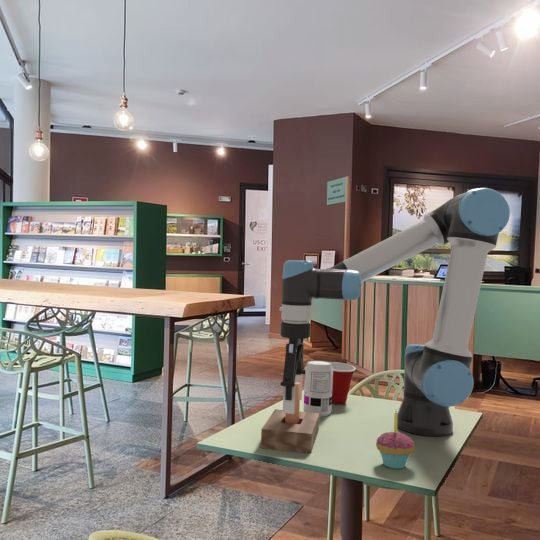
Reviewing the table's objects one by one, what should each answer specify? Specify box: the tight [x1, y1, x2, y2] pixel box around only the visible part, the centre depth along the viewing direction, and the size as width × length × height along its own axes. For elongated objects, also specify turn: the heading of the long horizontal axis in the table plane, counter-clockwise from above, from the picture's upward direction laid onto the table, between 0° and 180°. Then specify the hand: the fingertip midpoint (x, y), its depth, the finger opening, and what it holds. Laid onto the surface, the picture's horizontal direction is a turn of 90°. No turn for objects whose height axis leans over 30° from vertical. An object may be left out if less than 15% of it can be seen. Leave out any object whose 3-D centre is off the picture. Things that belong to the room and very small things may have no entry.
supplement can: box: [303, 360, 333, 418], centre depth 160 cm, size 8×8×15 cm
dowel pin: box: [285, 382, 301, 424], centre depth 136 cm, size 4×4×14 cm
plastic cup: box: [329, 361, 356, 405], centre depth 174 cm, size 11×11×12 cm
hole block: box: [260, 408, 320, 454], centre depth 136 cm, size 12×18×4 cm, turn 169°
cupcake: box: [375, 412, 416, 470], centre depth 121 cm, size 9×8×12 cm
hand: (292, 406), depth 136 cm, fingers open, 13 cm apart
